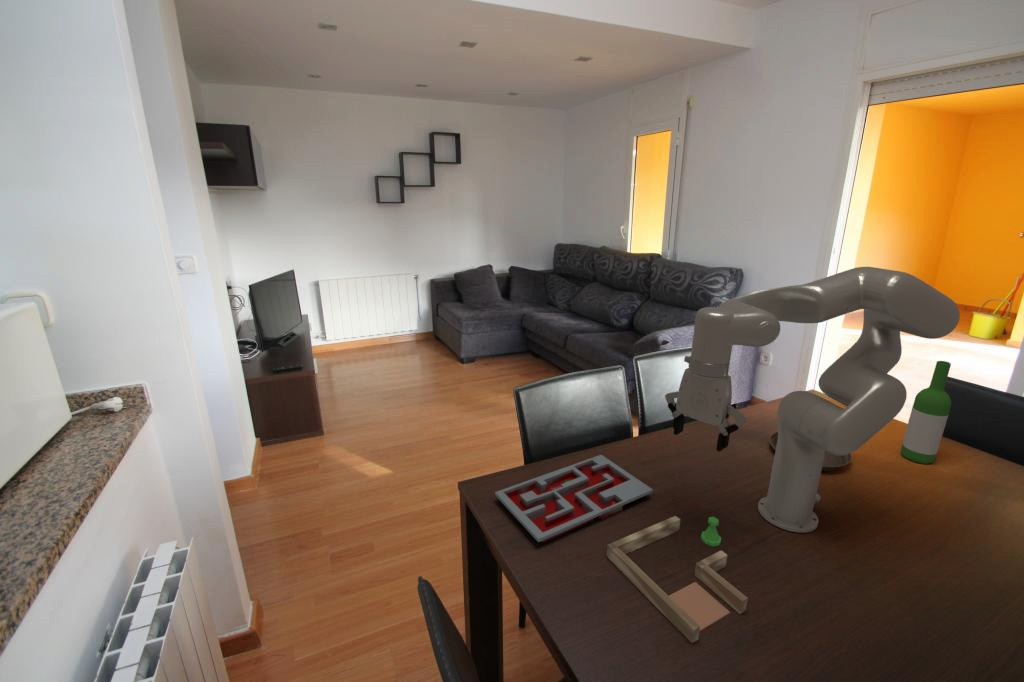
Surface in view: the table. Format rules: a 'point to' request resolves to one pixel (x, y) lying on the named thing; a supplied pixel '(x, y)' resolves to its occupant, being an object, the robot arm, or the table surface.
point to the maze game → (571, 497)
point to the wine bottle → (928, 418)
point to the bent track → (690, 603)
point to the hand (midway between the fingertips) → (698, 440)
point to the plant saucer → (829, 459)
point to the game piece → (711, 533)
